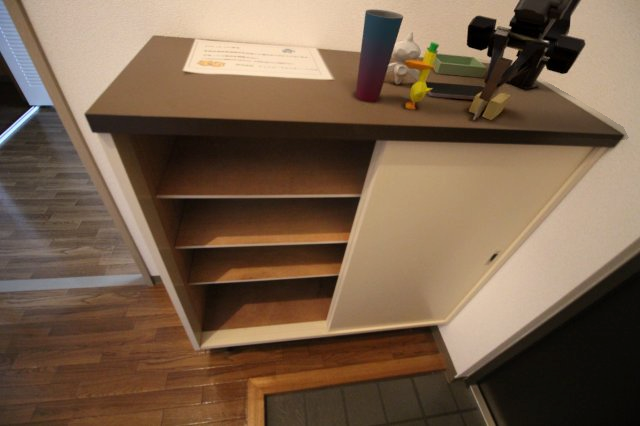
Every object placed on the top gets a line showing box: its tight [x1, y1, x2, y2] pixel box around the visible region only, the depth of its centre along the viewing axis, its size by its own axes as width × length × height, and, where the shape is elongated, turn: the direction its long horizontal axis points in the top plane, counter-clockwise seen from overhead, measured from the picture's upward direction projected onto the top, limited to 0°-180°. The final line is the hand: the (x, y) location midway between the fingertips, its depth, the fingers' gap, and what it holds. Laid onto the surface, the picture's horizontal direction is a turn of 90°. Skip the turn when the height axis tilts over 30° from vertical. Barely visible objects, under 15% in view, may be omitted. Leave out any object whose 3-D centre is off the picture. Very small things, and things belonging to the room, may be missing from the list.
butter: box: [468, 92, 512, 121], centre depth 60 cm, size 7×5×4 cm
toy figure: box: [404, 41, 440, 110], centre depth 55 cm, size 7×4×12 cm, turn 83°
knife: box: [472, 56, 514, 121], centre depth 55 cm, size 3×2×11 cm, turn 137°
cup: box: [355, 8, 404, 103], centre depth 56 cm, size 7×7×15 cm
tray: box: [432, 53, 488, 79], centre depth 80 cm, size 13×9×3 cm
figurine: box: [386, 31, 422, 85], centre depth 65 cm, size 12×5×11 cm, turn 83°
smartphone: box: [425, 81, 484, 101], centre depth 67 cm, size 7×1×15 cm
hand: (491, 83), depth 53 cm, fingers closed on knife, 2 cm apart
